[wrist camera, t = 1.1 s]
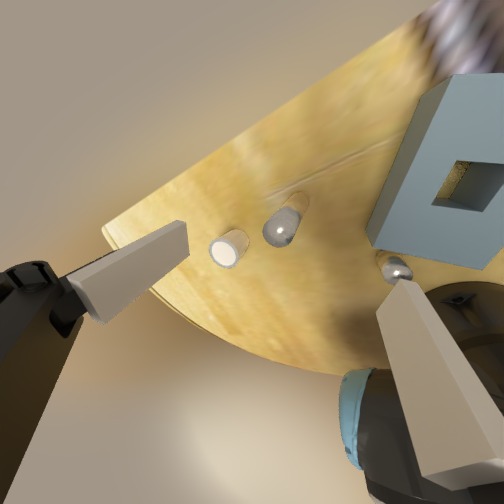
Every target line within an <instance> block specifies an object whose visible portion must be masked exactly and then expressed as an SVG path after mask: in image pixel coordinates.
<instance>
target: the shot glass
mask: <svg viewBox="0 0 504 504" xmlns="http://www.w3.org/2000/svg"><path fill="white" fill-rule="evenodd" d="M248 246H249V239H248V237H247V235H246V234H245V233H244V232H243V231H241V230H239V229H233V230H231V231H229V232H228V233H226V234H224V235H222V236H220V237H218V238H217V239H215V240H213V241H212V242H211V243H210V245H209V253H210V256H211V258H212V259H213V261H214V262H215V263H216V264H217V265H219V266H221V267H223V268H232V267H235V266H236V264H237V263H238V262H239V260H240V259H241V257H242V256H243V254H244V253H245V251H246V249H247V248H248Z"/></svg>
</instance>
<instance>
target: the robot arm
mask: <svg viewBox="0 0 504 504" xmlns="http://www.w3.org/2000/svg"><path fill="white" fill-rule="evenodd" d="M189 255H190V254H189V245H188V236H187V227H186V222H183V221H179V220H176V221H174V222H172V223H170V224H168V225H166V226H164V227H162V228H160V229H158V230H156V231H154V232H152V233H150V234H148V235H146V236H144V237H142V238H140V239H138V240H136V241H135V242H133V243H131V244H129V245H127V246H125V247H123V248H121V249H118V250H115V251H112V252H110V253H108V254H106V255H104V256H103V257H100V258H98V259H96V260H95V261H92V262H90V263H89V264H86V265H84V266H82V267H80V268H79V269H76V270H75V271H72V272H70V273H68V274H67V275H65V276H63V277H60V278H58V277H57V276H56V274H55V273H54V271H53V270H52V268H51V267H50V265H49V264H48V262H45V261H31V262H25V263H22V264H19V265H16V266H13V267H11V268H9V269H7V270H6V271H4V272H2V273H0V504H3V502H4V500H5V498H6V495H7V493H8V490H9V489H10V486H11V484H12V482H13V480H14V477H15V475H16V473H17V470H18V468H19V466H20V464H21V461H22V459H23V457H24V454H25V452H26V450H27V448H28V446H29V443H30V441H31V439H32V437H33V434H34V432H35V430H36V427H37V425H38V423H39V420H40V418H41V416H42V414H43V412H44V409H45V407H46V405H47V403H48V400H49V398H50V396H51V393H52V391H53V389H54V387H55V384H56V382H57V380H58V378H59V375H60V373H61V371H62V368H63V366H64V364H65V362H66V359H67V357H68V355H69V352H70V350H71V348H72V346H73V344H74V341H75V339H76V337H77V335H78V332H79V330H80V328H81V325H82V323H83V320H84V317H83V316H82V315H83V314H84V313H86V312H87V311H88V313H89V314H90V316H91V318H92V319H93V320H95V321H97V322H99V323H101V324H103V325H105V324H106V323H107V322H108V321H110V320H111V319H112V318H113V317H115V316H116V315H117V314H118V313H119V312H121V311H122V310H123V309H124V308H126V307H127V306H128V305H129V304H130V303H132V302H133V301H134V300H135V299H136V298H138V297H139V296H140V295H141V294H143V293H144V292H145V291H146V290H148V289H149V288H150V287H151V286H153V285H154V284H155V283H156V282H157V281H159V280H160V279H161V278H162V277H164V276H165V275H166V274H167V273H168V272H170V271H171V270H172V269H173V268H175V267H176V266H177V265H178V264H179V263H181V262H182V261H183V260H184V259H186V258H187V257H188V256H189ZM376 316H377V320H378V323H379V327H380V330H381V334H382V338H383V341H384V345H385V348H386V352H387V355H388V359H389V362H390V366H391V369H376V368H370V369H361V370H351V371H349V372H347V373H346V374H345V376H344V377H343V380H342V383H341V386H340V394H339V419H340V429H341V436H342V440H343V443H344V445H345V451H346V454H347V456H348V459H349V460H350V462H351V463H352V464H353V465H354V466H356V467H357V468H358V469H359V470H364V474H365V479H366V484H367V489H368V493H369V495H370V497H371V498H372V500H373V501H374V502H375V504H504V286H502V285H498V284H493V283H485V282H464V283H456V284H451V285H446V286H443V287H440V288H437V289H434V290H432V291H430V292H428V293H426V294H424V293H423V291H422V289H421V288H420V286H419V285H418V283H416V282H412V281H409V280H405V279H401V278H400V279H399V281H398V282H397V284H396V285H395V286H394V288H393V289H392V290H391V292H390V293H389V295H388V296H387V297H386V299H385V300H384V302H383V303H382V304H381V306H380V307H379V308H378V310H377V311H376Z"/></svg>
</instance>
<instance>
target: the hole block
mask: <svg viewBox="0 0 504 504" xmlns="http://www.w3.org/2000/svg"><path fill="white" fill-rule="evenodd" d="M456 161H463V162H471V164H470V165H469V167H468V169H467V170H466V172H465V174H464V175H463V177H462V178H461V180H460V182H459V183H458V185H457V187H456V188H455V190H454V191H453V193H452V195H451V196H450V198H449V199H444V198H436V195H437V193H438V192H439V190H440V188H441V187H442V185H443V183H444V181H445V180H446V178H447V176H448V174H449V173H450V171H451V169H452V167H453V166H454V164H455V162H456ZM365 231H366V233H367V236H368V238H369V240H370V242H371V245H372V247H373V248H377V249H382V250H387V251H392V252H396V253H401V254H406V255H411V256H415V257H420V258H425V259H430V260H435V261H439V262H444V263H449V264H454V265H458V266H463V267H468V268H473V269H477V270H483V269H484V268H485V267H486V266H487V264H488V263H489V262H490V261H491V260H492V259H493V258H494V257H495V255H496V254H497V253H498V252H499V251H500V250H501V249H502V247H503V246H504V73H488V74H454V75H452V76H451V77H449V78H447V79H446V80H444V81H443V82H441V83H440V84H438V85H437V86H435V87H434V88H432V89H431V90H429V91H427V92H426V93H424V94H423V95H422V96H421V99H420V101H419V104H418V106H417V108H416V111H415V113H414V115H413V118H412V120H411V123H410V125H409V127H408V130H407V132H406V134H405V137H404V139H403V142H402V144H401V146H400V149H399V151H398V154H397V156H396V158H395V161H394V163H393V165H392V168H391V170H390V173H389V175H388V177H387V180H386V182H385V184H384V187H383V189H382V192H381V194H380V196H379V199H378V201H377V203H376V206H375V208H374V211H373V213H372V215H371V218H370V220H369V222H368V225H367V227H366V230H365Z"/></svg>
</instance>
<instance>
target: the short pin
mask: <svg viewBox="0 0 504 504" xmlns="http://www.w3.org/2000/svg"><path fill="white" fill-rule="evenodd" d="M376 260H377V263H378V265H379V268H380V270H381V272H382V275H383V277H384V279H385V281H386V282H387V283H389V284H391V285H396V284H397V282H398V281H399V279H400V278H401V279H405V280H409V281H411V279H412V278H413V273H412V271H411V269H410V268H409V266H408V265H407V263H406V262H405V260H404V259H403V257H402V256H401V255H400V253H396V252H392V251H387V250H380V251H379V252H378V253H377V255H376Z"/></svg>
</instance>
